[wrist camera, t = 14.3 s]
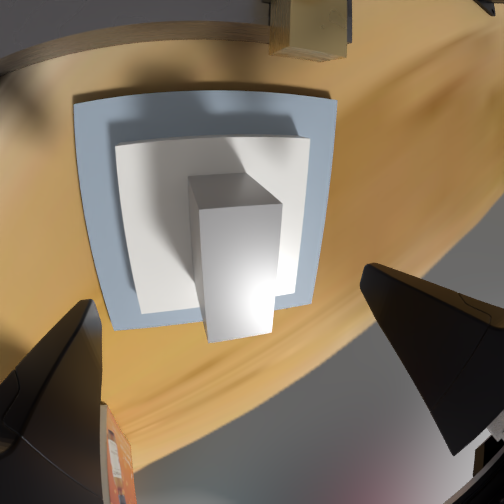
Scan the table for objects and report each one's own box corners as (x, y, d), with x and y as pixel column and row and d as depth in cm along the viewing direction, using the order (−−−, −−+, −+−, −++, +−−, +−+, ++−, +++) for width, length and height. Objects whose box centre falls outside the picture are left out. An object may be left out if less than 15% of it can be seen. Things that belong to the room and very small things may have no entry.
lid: (298, 135, 13) (366, 156, 8) (285, 280, 17) (328, 343, 12) (119, 142, 11) (90, 166, 6) (142, 299, 14) (141, 377, 10)
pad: (332, 100, 13) (337, 100, 12) (307, 298, 18) (311, 303, 18) (77, 104, 10) (73, 104, 9) (114, 324, 15) (114, 330, 15)
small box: (131, 443, 22) (144, 538, 13) (80, 442, 20) (84, 534, 12) (108, 402, 18) (115, 527, 10) (47, 400, 17) (39, 515, 8)
